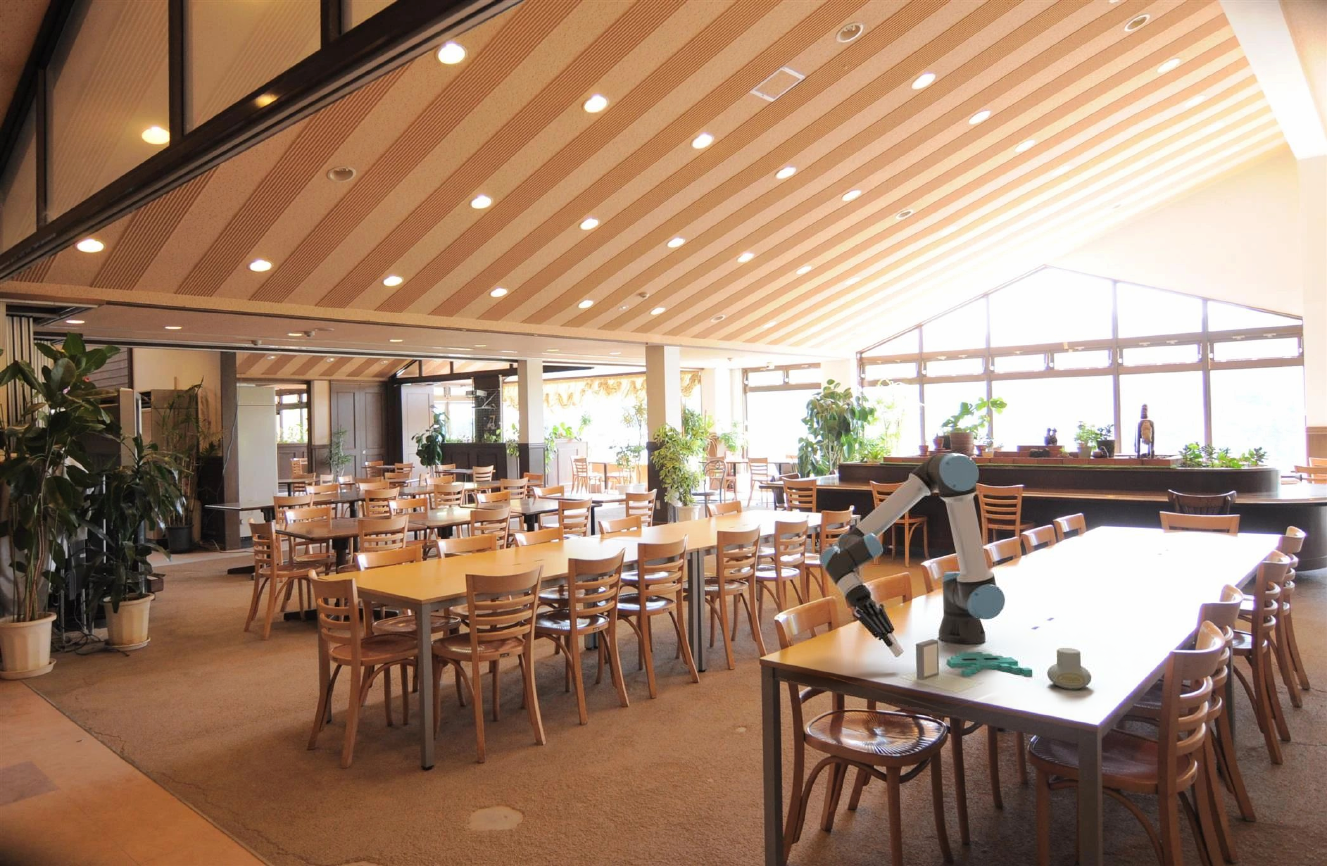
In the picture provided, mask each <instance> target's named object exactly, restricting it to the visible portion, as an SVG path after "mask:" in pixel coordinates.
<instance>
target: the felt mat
mask: <svg viewBox="0 0 1327 866" xmlns="http://www.w3.org/2000/svg"><path fill="white" fill-rule="evenodd" d="M900 678H901V679H904V680H909V681H912V682H916V683H920V684H922V685H926V686H931V687H935V688H938V689H942V690H945V691H949V692H954V693H960V692H962V691H965V690H968V689H970V688H973V687H975V686H979V685H980V684H983V682H982V681H979V680H974V679H970V678H966V677H963V676H962V677H961V676H959V675H953V674H949V673H945V672H942V671H939V675H936V676H933V677H931V678H928V679H925V680H920V679H917V672H914V673H911V674H909V675H905V676H902V677H900Z"/></svg>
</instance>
